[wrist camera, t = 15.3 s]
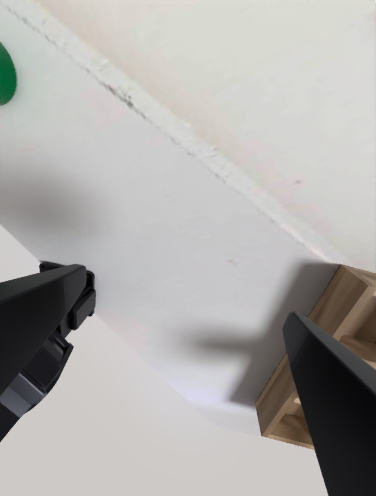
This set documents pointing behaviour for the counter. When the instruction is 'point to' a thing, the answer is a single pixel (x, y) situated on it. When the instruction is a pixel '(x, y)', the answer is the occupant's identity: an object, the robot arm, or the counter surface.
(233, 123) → the counter surface
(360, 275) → the slot crate
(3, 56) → the soda can
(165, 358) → the counter surface
